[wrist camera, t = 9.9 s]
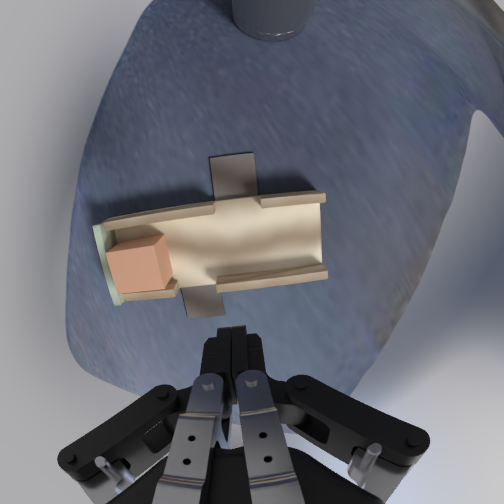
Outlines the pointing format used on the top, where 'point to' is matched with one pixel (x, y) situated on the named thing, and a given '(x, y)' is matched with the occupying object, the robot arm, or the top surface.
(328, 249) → the top surface
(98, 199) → the top surface
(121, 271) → the block
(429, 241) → the top surface
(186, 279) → the box
